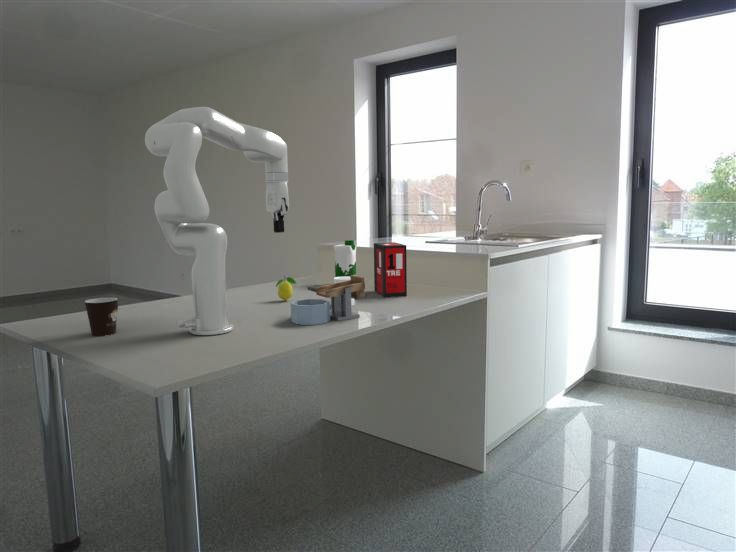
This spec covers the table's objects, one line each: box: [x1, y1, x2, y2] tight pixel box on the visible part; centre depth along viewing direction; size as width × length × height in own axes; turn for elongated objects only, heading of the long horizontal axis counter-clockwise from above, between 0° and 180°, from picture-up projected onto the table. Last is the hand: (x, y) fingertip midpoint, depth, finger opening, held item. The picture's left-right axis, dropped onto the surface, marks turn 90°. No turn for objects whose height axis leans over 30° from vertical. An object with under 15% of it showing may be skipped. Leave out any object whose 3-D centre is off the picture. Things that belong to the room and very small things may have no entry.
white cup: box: [333, 276, 356, 307], centre depth 202 cm, size 8×8×10 cm
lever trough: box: [306, 275, 366, 300], centre depth 184 cm, size 14×14×7 cm
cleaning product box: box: [373, 241, 408, 298], centre depth 224 cm, size 16×9×20 cm, turn 13°
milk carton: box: [333, 239, 357, 278], centre depth 249 cm, size 9×9×20 cm
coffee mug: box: [84, 297, 119, 337], centre depth 165 cm, size 12×9×10 cm
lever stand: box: [330, 288, 360, 322], centre depth 182 cm, size 8×10×10 cm
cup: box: [290, 298, 331, 326], centre depth 176 cm, size 11×11×6 cm
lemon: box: [275, 275, 297, 302], centre depth 212 cm, size 7×6×10 cm
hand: (279, 232), depth 193 cm, fingers closed
